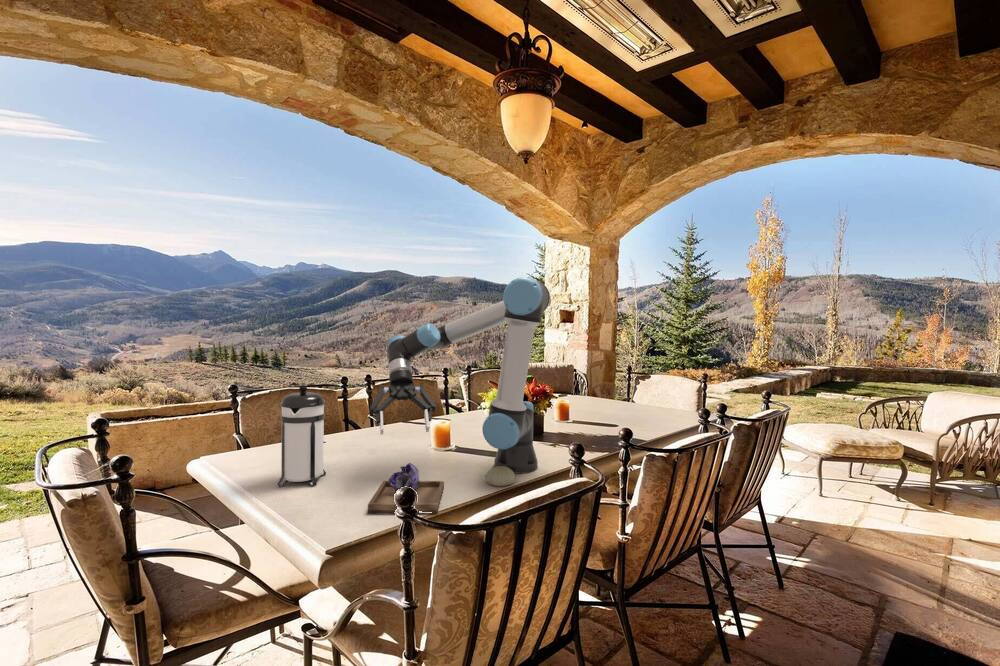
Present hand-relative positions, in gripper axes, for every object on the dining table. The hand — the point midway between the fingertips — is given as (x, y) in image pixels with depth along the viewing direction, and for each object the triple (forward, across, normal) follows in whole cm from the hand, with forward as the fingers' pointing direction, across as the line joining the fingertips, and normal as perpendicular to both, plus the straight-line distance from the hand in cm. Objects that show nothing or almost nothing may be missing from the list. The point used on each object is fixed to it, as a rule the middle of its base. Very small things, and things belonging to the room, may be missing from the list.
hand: (405, 430), depth 138 cm
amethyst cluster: (+17, 0, -6) cm, 18 cm away
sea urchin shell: (+15, -29, -10) cm, 34 cm away
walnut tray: (+20, 0, -4) cm, 20 cm away
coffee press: (+1, +30, -24) cm, 38 cm away
